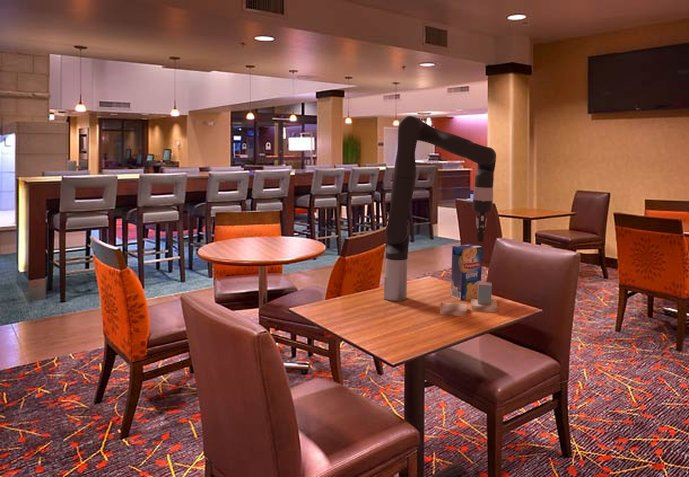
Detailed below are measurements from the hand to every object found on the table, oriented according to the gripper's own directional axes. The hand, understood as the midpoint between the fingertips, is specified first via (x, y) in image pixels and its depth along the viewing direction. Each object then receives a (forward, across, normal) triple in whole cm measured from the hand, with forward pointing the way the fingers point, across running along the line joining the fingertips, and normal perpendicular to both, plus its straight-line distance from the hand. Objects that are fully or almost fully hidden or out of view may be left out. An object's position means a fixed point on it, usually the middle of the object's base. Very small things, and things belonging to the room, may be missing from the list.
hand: (479, 239), depth 216 cm
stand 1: (+28, +9, -8) cm, 30 cm away
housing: (+25, +1, +3) cm, 25 cm away
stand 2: (+27, +1, +3) cm, 27 cm away
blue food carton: (+28, -14, -4) cm, 31 cm away
